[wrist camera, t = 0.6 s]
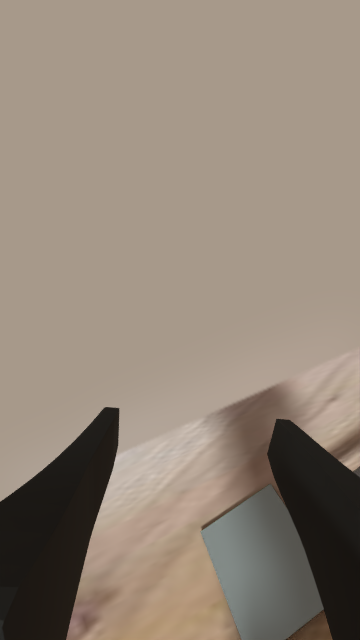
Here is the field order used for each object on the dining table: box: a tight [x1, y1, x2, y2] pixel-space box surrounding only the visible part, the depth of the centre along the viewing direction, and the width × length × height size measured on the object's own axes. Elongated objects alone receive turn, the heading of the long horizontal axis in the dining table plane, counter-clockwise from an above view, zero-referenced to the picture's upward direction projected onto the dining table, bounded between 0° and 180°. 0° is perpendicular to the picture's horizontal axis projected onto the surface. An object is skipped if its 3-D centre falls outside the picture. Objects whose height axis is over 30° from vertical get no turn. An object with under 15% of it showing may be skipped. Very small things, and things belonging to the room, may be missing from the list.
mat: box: [201, 484, 324, 640], centre depth 21 cm, size 8×8×1 cm
